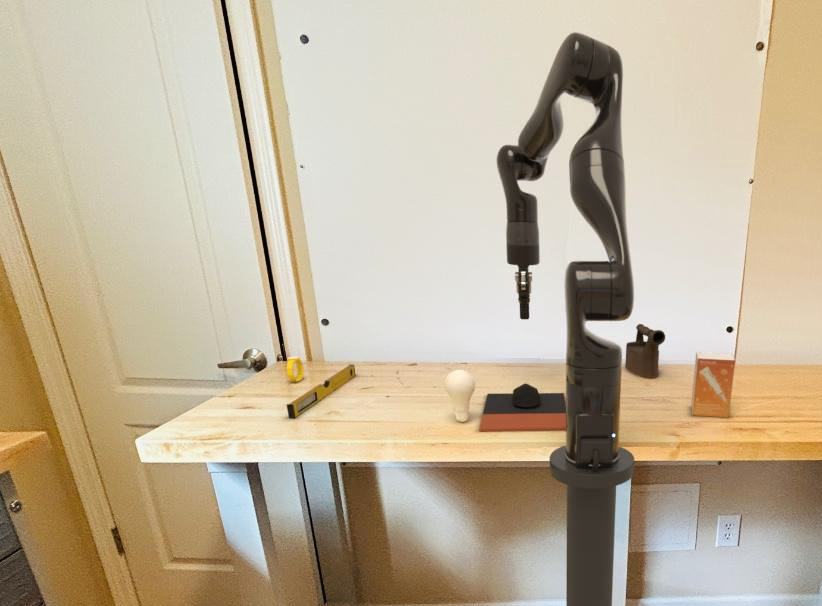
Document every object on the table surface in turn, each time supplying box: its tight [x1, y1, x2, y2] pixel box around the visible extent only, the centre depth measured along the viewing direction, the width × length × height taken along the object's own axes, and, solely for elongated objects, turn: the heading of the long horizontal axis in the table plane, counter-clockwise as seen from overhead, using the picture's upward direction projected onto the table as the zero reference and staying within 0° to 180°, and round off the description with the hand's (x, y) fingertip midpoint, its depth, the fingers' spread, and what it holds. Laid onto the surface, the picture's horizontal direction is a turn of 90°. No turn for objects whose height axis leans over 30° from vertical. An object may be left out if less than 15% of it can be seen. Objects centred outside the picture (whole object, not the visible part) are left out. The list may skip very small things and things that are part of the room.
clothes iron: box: [624, 323, 666, 379], centre depth 163 cm, size 8×16×13 cm, turn 13°
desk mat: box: [478, 392, 566, 432], centre depth 133 cm, size 24×18×1 cm
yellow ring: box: [286, 355, 304, 383], centre depth 150 cm, size 6×3×6 cm, turn 2°
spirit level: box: [286, 364, 356, 419], centre depth 140 cm, size 33×1×3 cm, turn 0°
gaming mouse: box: [512, 383, 541, 408], centre depth 138 cm, size 6×15×4 cm, turn 9°
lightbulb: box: [443, 369, 476, 423], centre depth 124 cm, size 6×6×11 cm
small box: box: [690, 351, 736, 419], centre depth 133 cm, size 8×6×13 cm
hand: (524, 318), depth 145 cm, fingers closed
